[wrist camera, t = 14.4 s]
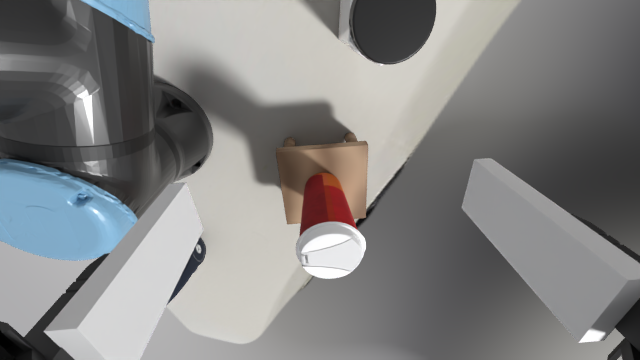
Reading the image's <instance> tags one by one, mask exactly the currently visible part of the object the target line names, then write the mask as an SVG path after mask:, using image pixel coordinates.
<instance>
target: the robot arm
mask: <svg viewBox="0 0 640 360" xmlns="http://www.w3.org/2000/svg"><path fill="white" fill-rule="evenodd" d="M153 43H155V39H154V37H153V35H152V34H151V24H150V12H149V1H148V0H0V241H2V242H5V243H7V244H9V245H11V246H13V247H15V248H18V249H20V250H23V251H26V252H29V253H32V254H35V255H39V256H43V257H47V258H52V259H61V260H74V261H76V260H88V259H94V258H98V257H99V258H98V259H97V260H95V261H94V262H93V263H91V264H90V265H89V266H88V267H87V268H86V269H85V270H84V271H83V272H82V273H81V274H80V276H79V277H78V278H77V279H76V282H73V283H72V284H71V285H70V287H69V288H68V289H67V290H66V293H65V294H63V295H62V296H61V297H60V298H59V299H58V300H57V301H56V302H55V303H54V305H53V306H52V307H51V308H50V309H49V310H48V311H47V312H46V313H45V315H44V316H43V317H42V318H41V319H40V320H39V321H38V322H37V323H36V325H35V326H34V327H33V328H32V329H31V330H30V331H29V332H28V333H27V335H26V336H25V337H22V336H21V335H20V334H19V333H18V332H17V331H16V330H14V329H13V328H12V327H11V326H10V325H9V324H8V323H4V322H0V360H140V358H141V356H142V354H143V352H144V350H145V348H146V346H147V344H148V342H149V340H150V338H151V335H152V334H153V332H154V330H155V327H156V325H157V323H158V321H159V319H160V317H161V315H162V313H163V311H164V309H165V307H166V305H167V303H168V301H169V299H170V297H171V295H172V293H173V291H174V289H175V287H176V285H177V283H178V281H179V279H180V277H181V274H182V272H183V270H184V268H185V266H186V264H187V262H188V260H189V258H190V256H191V254H192V252H193V250H194V248H195V246H196V244H197V242H198V240H199V238H200V236H201V234H202V232H203V230H204V229H203V226H202V224H201V221H200V218H199V215H198V213H197V210H196V207H195V205H194V202H193V199H192V197H191V194H190V191H189V189H188V186H187V183H186V182H185V183H173V182H175V181H178V180H180V179H183V178H185V177H187V176H190V175H191V174H193V173H195V172H196V171H197V170H198V169H200V168H201V167H202V165H203V164H204V163H205V161H206V160H207V159H208V157H209V155H210V153H211V150H212V146H213V133H212V128H211V125H210V122H209V120H208V118H207V116H206V114H205V113H204V111H203V110H202V109H201V107H200V106H199V105H198V104H197V103H196V102H195V101H194V100H193V99H192V98H191V97H189V96H188V95H187V94H185V93H184V92H182V91H181V90H179V89H177V88H175V87H173V86H170V85H168V84H165V83H161V82H155V81H154V74H153ZM462 209H463V210H464V211H465V212H466V214H467V215H468V216H469V217H470V218H471V219H472V221H473V222H474V223H475V224H476V225H477V226H478V228H479V229H480V230H481V231H482V232H483V233H484V234H485V235H486V237H487V238H488V239H489V240H490V241H491V243H492V244H493V245H494V246H495V247H496V248H497V249H498V250H499V252H500V253H501V254H502V255H503V256H504V257H505V259H506V260H507V261H508V262H509V263H510V264H511V266H512V267H513V268H514V269H515V270H516V271H517V272H518V274H519V275H520V276H521V277H522V278H523V279H524V280H525V282H526V283H527V284H528V285H529V286H530V287H531V289H532V290H533V291H534V292H535V293H536V294H537V296H538V297H539V298H540V299H541V300H542V301H543V302H544V304H545V305H546V306H547V307H548V308H549V309H550V310H551V312H552V313H553V314H554V315H555V316H556V317H557V319H558V320H559V321H560V322H561V323H562V324H563V325H564V326H565V328H566V329H567V330H568V331H569V332H570V334H571V335H572V336H573V337H574V338H575V339H576V340H577V342H579V343H581V342H592V341H602V340H605V339H606V337H607V336H608V335H609V334H610V333H611V332H612V331H613V330H614V328H616V329H617V330H618V331H619V332H620V333H621V334H622V335H623V336H624V337H625V338H624V339H623V341H621V343H620V344H619V345H618V346H617V347H616V348H615V349H614V350H613V351H612V352H611V353H610V354H609V355H608V359H607V360H617V359H618V358H619V357H620V356H622V359H623V360H640V256H639V255H637V254H636V253H635V252H633V251H632V250H630V249H629V248H627V247H626V246H624V245H620V243H619V242H618V241H617V240H615V239H614V238H613V237H611V236H607V235H606V233H605V232H604V231H602V230H601V229H599V228H598V227H597V226H595V225H594V224H592V223H591V222H589V221H586V220H584V219H582V218H580V217H577V216H575V215H573V214H569V213H568V212H566V211H565V210H563V209H562V208H561V207H559V206H558V205H556V204H555V203H554V202H552V201H551V200H549V199H548V198H546V197H545V196H543V195H542V194H541V193H539V192H538V191H537V190H535V189H534V188H532V187H531V186H529V185H528V184H527V183H525V182H524V181H522V180H521V179H520V178H518V177H517V176H515V175H514V174H513V173H511V172H510V171H508V170H507V169H505V168H504V167H503V166H501V165H500V164H498V163H497V162H496V161H494V160H493V159H491V158H487V159H475V160H474V163H473V167H472V170H471V174H470V178H469V182H468V185H467V190H466V193H465V197H464V201H463V204H462ZM110 252H111V253H110Z"/></svg>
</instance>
